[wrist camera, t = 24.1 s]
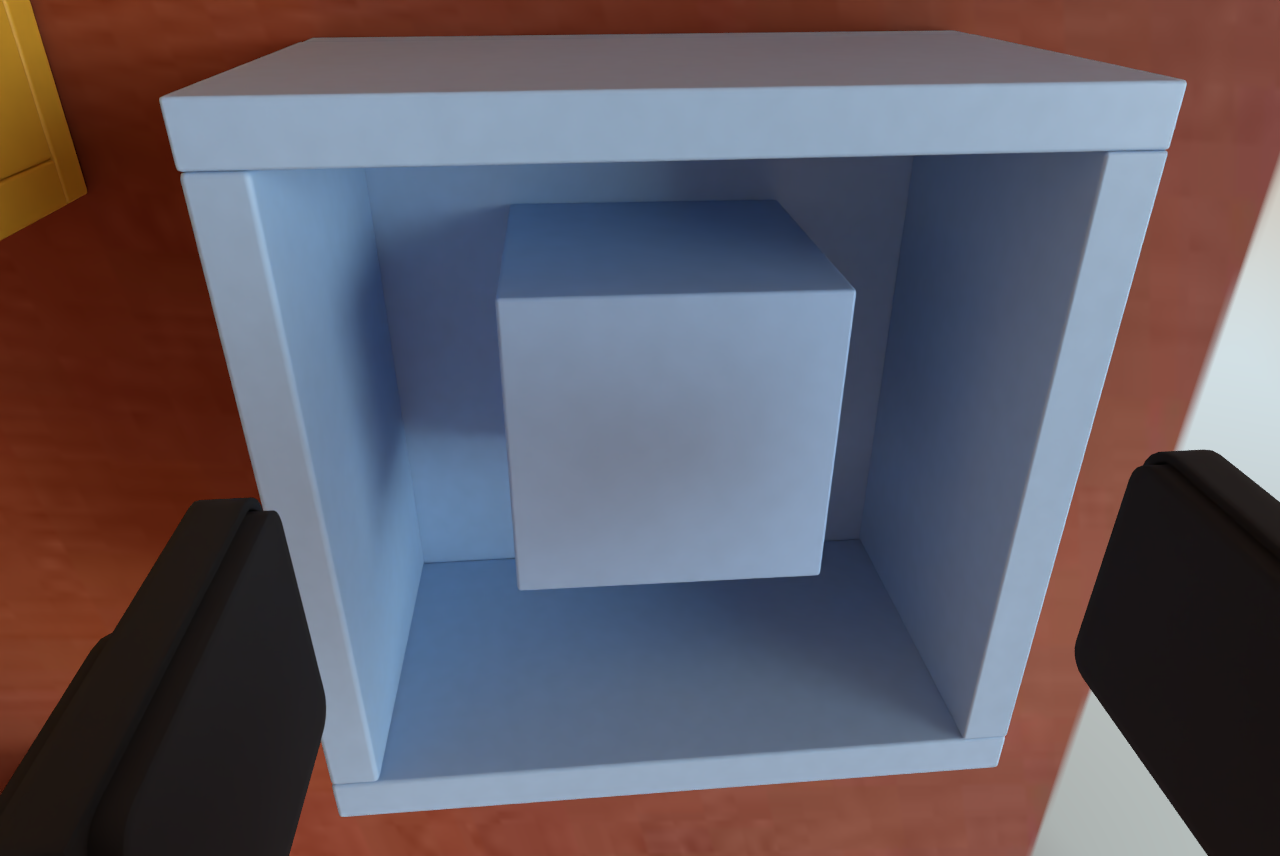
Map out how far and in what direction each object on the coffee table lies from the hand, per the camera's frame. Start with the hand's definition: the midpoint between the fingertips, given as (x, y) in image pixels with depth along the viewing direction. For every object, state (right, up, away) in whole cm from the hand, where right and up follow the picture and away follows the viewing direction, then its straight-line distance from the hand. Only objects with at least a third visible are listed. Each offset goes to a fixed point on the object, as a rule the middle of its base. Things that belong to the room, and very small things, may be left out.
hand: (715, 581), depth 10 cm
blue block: (-1, +4, +8) cm, 9 cm away
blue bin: (-1, +4, +9) cm, 9 cm away
